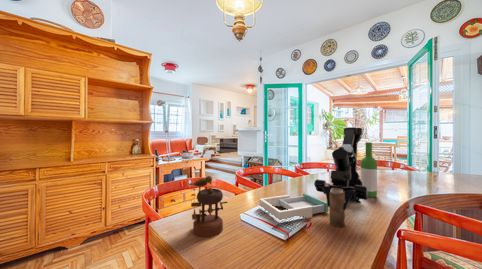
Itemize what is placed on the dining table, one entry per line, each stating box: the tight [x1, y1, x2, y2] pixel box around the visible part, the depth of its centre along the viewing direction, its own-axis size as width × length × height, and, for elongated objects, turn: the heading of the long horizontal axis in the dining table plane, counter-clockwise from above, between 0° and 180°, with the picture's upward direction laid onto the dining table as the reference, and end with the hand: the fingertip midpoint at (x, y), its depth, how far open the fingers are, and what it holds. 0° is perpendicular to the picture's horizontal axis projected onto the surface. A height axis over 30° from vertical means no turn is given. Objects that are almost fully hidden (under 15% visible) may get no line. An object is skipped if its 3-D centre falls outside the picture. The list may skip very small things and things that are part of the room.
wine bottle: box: [360, 141, 378, 198], centre depth 110 cm, size 8×8×30 cm
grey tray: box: [279, 192, 329, 215], centre depth 89 cm, size 16×15×4 cm
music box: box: [188, 175, 228, 239], centre depth 71 cm, size 15×11×20 cm
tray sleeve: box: [258, 194, 313, 220], centre depth 86 cm, size 16×17×4 cm
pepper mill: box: [329, 188, 346, 228], centre depth 75 cm, size 5×5×14 cm
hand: (336, 208), depth 74 cm, fingers closed on pepper mill, 5 cm apart
